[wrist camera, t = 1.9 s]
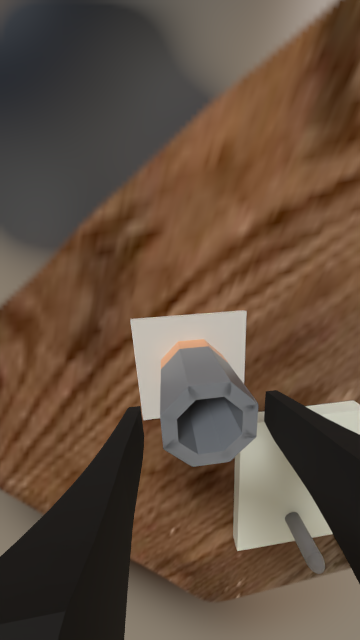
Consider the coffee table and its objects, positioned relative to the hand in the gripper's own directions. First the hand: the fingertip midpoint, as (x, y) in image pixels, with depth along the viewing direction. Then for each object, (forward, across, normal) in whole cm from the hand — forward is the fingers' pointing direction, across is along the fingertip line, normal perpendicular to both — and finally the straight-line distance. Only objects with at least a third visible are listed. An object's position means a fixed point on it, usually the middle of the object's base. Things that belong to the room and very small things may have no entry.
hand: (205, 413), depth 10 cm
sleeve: (+5, 0, 0) cm, 5 cm away
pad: (+6, 0, 0) cm, 6 cm away
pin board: (+5, -10, +14) cm, 18 cm away
